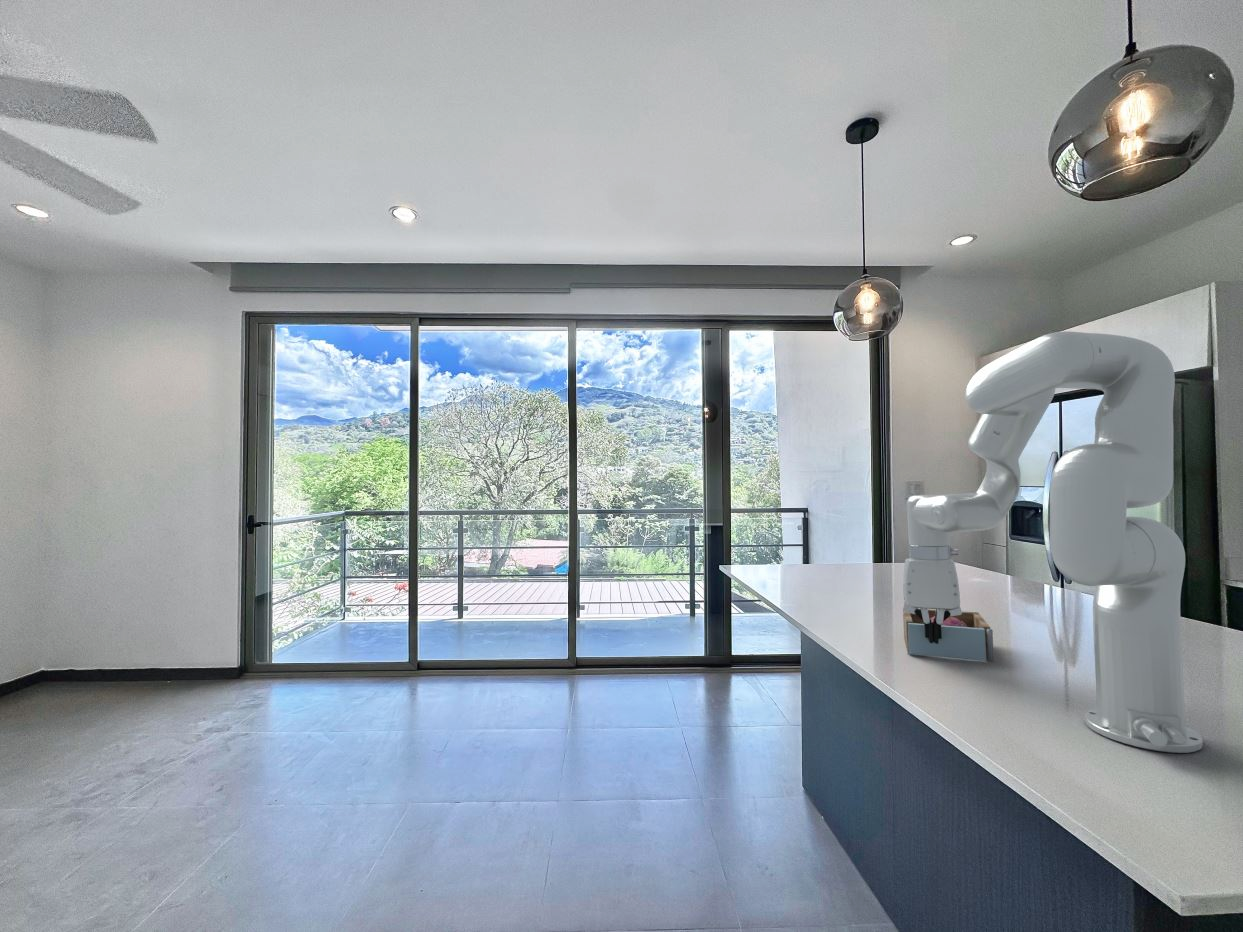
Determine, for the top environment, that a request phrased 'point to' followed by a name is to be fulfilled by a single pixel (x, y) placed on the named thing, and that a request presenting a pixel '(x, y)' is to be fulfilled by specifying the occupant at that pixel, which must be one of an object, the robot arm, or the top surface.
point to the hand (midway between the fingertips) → (933, 641)
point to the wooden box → (967, 617)
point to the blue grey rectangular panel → (952, 642)
